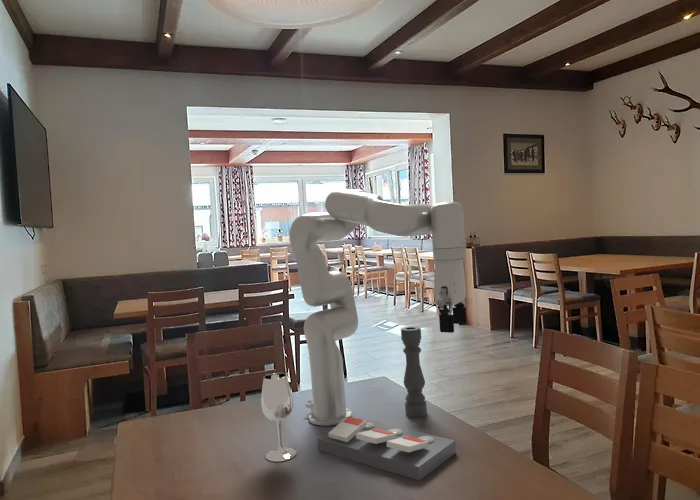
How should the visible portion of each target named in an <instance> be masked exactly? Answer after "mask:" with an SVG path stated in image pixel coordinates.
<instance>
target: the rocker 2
mask: <svg viewBox="0 0 700 500" xmlns="http://www.w3.org/2000/svg"><path fill="white" fill-rule="evenodd" d="M356 439H360V440H364V441H367V442H371V443H375V444H377V443H381V442H385V441H389V440H393V439H396V434H395V433H393V432H389V431H385V430H380V429H374V430H369V431H365V432H360V433H356Z"/></svg>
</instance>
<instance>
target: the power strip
mask: <svg viewBox="0 0 700 500" xmlns="http://www.w3.org/2000/svg"><path fill="white" fill-rule="evenodd" d="M357 419H362V420H366V423H367V425H366V426H365V427H364V428H363V429H362V430H361V431H359V432H358V433H360V432H365V431H369V430H374V429H380V430H385V431H389V432H393V433H395V434H396V439H398V438H402V437H406V436H409V437H414V438H418V439H422V440H426V441H428V447H426V448H422V449H419V450H416V451H412V452H405V451H401V450H398V449H394V448H390V447H387V441H385V442H381V443H377V444H375V443H371V442H367V441H364V440H360V439H356V435H355V436H354V437H353V438H352V439H351V440H349V441H348V442H345V441H341V440H337V439H334V438H330V437H329V435H328V433H329V432H327V433H325V434H323V435H321V436H319V437H317V438H316V439H317V441H316V442H317V451H320V452H324V453H326V454H329V455H333V456H337V457H339V458H343V459H346V460H348V461H349V460H350V461H353V462H355V463H359V464H363V465H366V466H370V467H373V468H377V469H379V470H383V471H386V472H389V473H393V474H396V475H400V476H403V477H406V478H410V479H412V480H416V481H422V479H424V478H425V477H426V476H428V475H429V474H431V472H433V471H434V470H436V468H438V467H440V466H441V465H442V464H443V463H445V462H446V461H448V460H449V458H451V457H452V456H454V455H455V454H456V453H457V451H456V440H454V439H450V438H446V437H443V436H436V435H432V434H429V433H426V432H425V433H424V432H420V431H416V430H412V429H407V428H403V427H399V426H395V425H390V424H386V423H381V422H378V421H377V422H376V421H374V420H373V421H372V420H369V419H366V418H365V419H364V418H360V417H357ZM393 440H394V439H393Z"/></svg>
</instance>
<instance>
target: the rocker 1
mask: <svg viewBox="0 0 700 500" xmlns="http://www.w3.org/2000/svg"><path fill="white" fill-rule="evenodd" d="M357 418H358V417H357ZM357 418H356V417H349V416H348V417H346V418H345V419H344V420H343V421H342V422H341V423H339V424H338V425H335V427H334V428H331V430H330V431H329V432H327V433H328V435H329V437H330V438H334V439H337V440H341V441H345V442H348V441H349V440H351V439H352V438H353V437H354V436H355V435H356V433H358V432H359V431H361V430H362V429H363V428H364V427H365V426H366V425H367V423H366V420H367V419H365V420H362V419H363V418H360V419H357Z"/></svg>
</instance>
